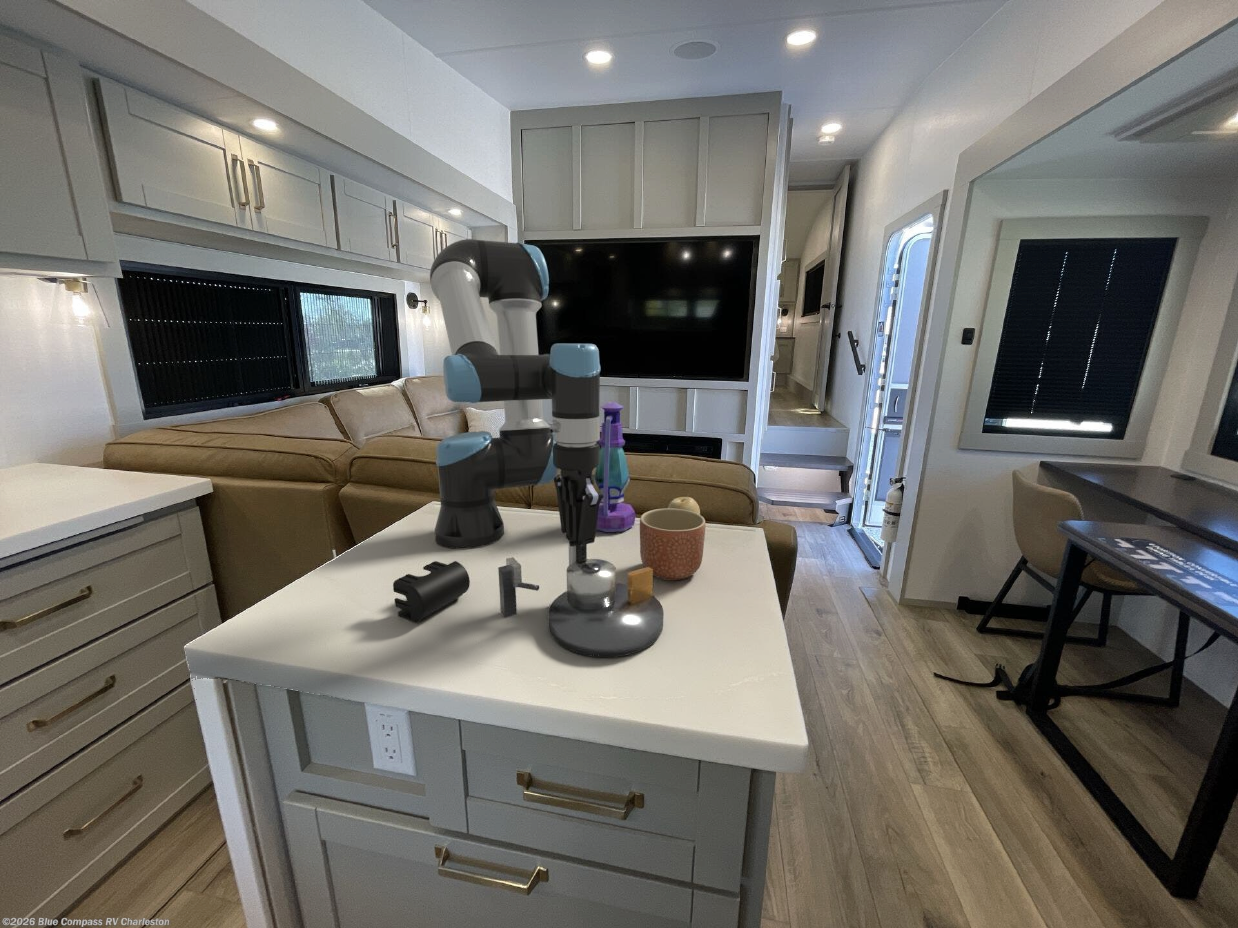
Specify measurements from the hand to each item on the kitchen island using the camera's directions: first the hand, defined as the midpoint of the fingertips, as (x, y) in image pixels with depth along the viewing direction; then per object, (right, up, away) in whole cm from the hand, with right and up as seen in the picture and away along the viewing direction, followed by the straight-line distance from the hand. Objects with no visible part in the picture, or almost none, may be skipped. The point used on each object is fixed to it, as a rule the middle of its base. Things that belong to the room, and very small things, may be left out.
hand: (578, 576), depth 84 cm
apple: (+23, +4, +35) cm, 42 cm away
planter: (+17, -2, +11) cm, 20 cm away
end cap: (-24, -5, -2) cm, 24 cm away
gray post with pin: (-9, -5, -4) cm, 11 cm away
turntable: (+5, -6, -7) cm, 10 cm away
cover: (+3, -3, -3) cm, 5 cm away
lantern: (+5, +4, +35) cm, 35 cm away
